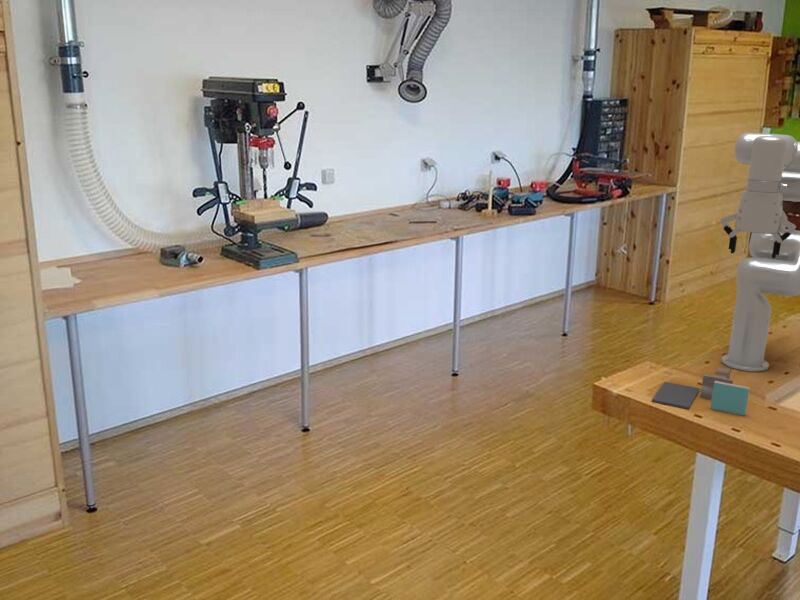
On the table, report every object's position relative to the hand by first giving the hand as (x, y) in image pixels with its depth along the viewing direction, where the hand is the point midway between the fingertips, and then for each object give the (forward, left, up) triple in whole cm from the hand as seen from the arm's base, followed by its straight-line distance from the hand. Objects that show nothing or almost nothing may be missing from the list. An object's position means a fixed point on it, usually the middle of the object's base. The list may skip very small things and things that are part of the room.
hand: (753, 254), depth 198 cm
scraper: (+3, -3, -37) cm, 37 cm away
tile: (+16, +1, -37) cm, 40 cm away
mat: (+13, -12, -36) cm, 41 cm away
